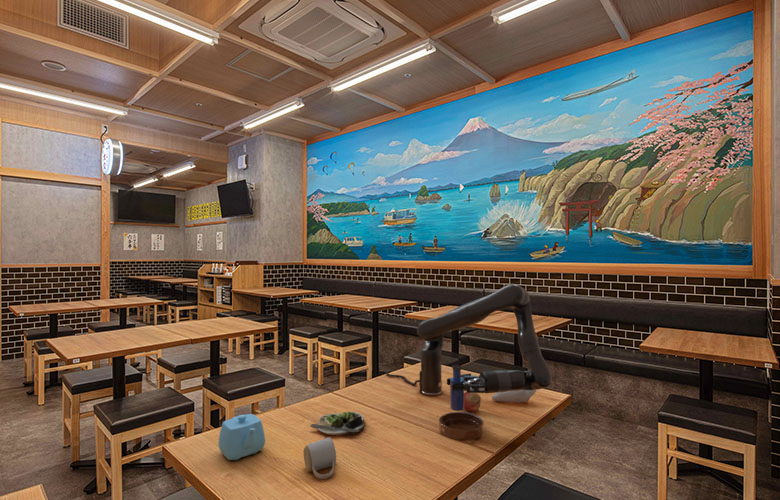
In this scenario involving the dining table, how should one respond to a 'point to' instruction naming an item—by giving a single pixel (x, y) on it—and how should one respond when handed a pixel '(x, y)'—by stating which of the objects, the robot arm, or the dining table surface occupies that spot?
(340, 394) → the dining table surface
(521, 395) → the seashell
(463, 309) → the robot arm
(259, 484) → the dining table surface
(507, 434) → the dining table surface
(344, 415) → the salad plate
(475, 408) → the fruit
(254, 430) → the teapot
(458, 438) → the bowl
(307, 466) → the ceramic mug
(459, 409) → the soy bottle
